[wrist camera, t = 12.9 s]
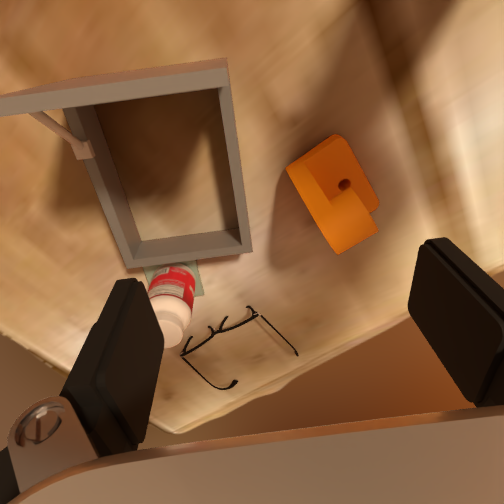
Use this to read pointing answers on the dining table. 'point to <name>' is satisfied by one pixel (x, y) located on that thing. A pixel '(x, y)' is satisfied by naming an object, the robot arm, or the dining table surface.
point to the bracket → (336, 193)
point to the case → (101, 163)
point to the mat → (191, 264)
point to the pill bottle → (172, 300)
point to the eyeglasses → (254, 315)
